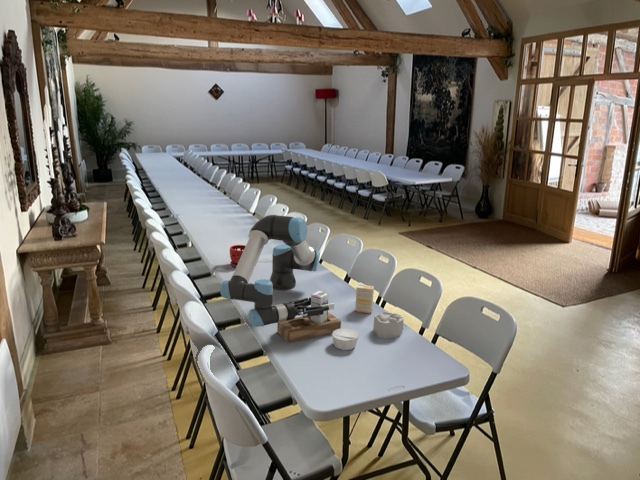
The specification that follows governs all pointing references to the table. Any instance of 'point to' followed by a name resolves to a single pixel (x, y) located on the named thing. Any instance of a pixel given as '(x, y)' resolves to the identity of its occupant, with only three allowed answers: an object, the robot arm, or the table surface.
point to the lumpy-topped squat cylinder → (388, 324)
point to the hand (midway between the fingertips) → (328, 302)
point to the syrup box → (317, 301)
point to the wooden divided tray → (306, 328)
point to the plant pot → (236, 254)
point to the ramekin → (345, 338)
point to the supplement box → (364, 298)
